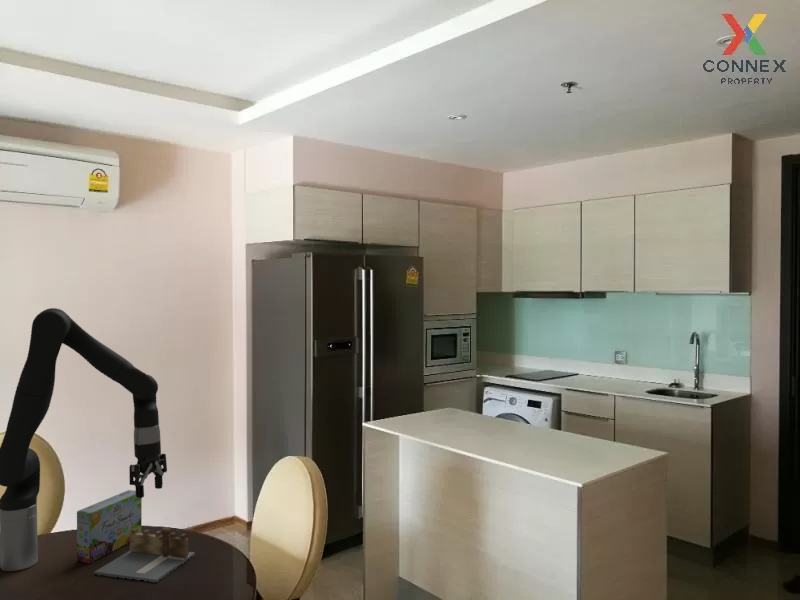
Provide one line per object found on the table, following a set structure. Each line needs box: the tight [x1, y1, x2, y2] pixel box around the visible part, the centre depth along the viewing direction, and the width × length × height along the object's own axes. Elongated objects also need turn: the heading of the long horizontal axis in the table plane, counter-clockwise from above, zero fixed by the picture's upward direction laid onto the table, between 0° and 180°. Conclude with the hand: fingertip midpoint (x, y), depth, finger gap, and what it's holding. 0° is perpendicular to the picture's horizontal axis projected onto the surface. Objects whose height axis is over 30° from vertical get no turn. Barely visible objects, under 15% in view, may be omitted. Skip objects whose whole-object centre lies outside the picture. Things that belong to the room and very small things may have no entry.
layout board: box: [94, 550, 196, 583], centre depth 180 cm, size 20×18×1 cm
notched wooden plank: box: [160, 527, 190, 558], centre depth 183 cm, size 8×3×9 cm, turn 75°
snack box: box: [76, 489, 143, 564], centre depth 191 cm, size 21×6×15 cm, turn 162°
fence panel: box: [129, 528, 163, 555], centre depth 185 cm, size 11×2×6 cm, turn 75°
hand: (149, 492), depth 191 cm, fingers open, 8 cm apart
